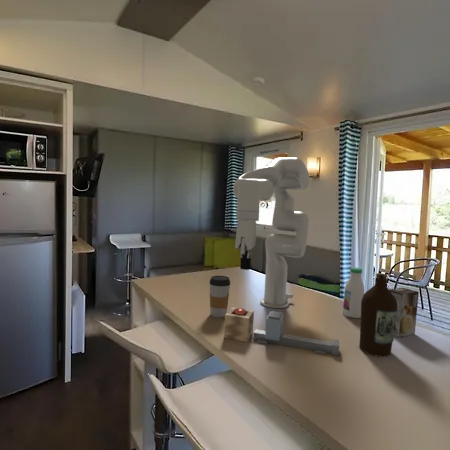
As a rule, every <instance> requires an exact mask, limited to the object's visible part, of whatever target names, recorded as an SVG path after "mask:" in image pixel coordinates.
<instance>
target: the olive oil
mask: <svg viewBox="0 0 450 450" xmlns="http://www.w3.org/2000/svg"><path fill="white" fill-rule="evenodd" d="M374 280H375V281H374V283H375V284H374V285H373V286H372V287H371V288H369V289H368V290H367V291H365V292H364V295H363V297H362V300H361V318H360V323H359V324H360V327H359V328H360V330H359V349H360V350H361V351H363V352H364V353H366V354H368V353H369V354H368V355H371V354H372V355H371V356H375V355H377V356H376V357H388V356H390V355H391V354H392V346H393V342H394V339H395V336H394V335H393V333H394V327H395V320H396V314H397V301H396V298H395V297H394V295H393V294H392V293H391V292H390V291H389V288H388V286H387V284H388V275H387V274H386V273H380V272H379V273H378V272H377V273H376V274H375V279H374ZM387 355H388V356H387Z"/></svg>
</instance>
